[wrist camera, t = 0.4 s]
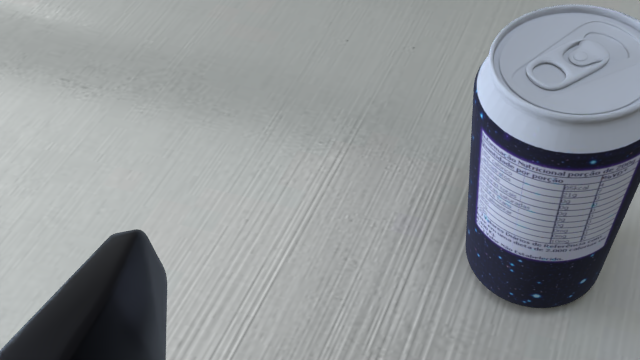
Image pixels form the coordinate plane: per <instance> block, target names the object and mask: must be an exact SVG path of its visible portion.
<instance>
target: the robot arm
mask: <svg viewBox="0 0 640 360" xmlns="http://www.w3.org/2000/svg"><path fill="white" fill-rule="evenodd" d="M166 315H167V277H166V273H165V270H164V267H163V265H162V263H161V261H160V260H159V258H158V256H157V254H156V252H155V250H154V248H153V246H152V244H151V243H150V241H149V239H148V237H147V236H146V234H145V233H144V232H143V231H141V230H138V229H136V230H131V231H125V232H120V233H116V234H113V235H111V236H110V237H109V238H108V239H107V240H106V241H105V242H104V243H103V244H102V245H101V246H100V247H99V248H98V249H97V250H96V251H95V252H94V253H93V254H92V255H91V257H90V258H89V259H88V260H87V261H86V262H85V263H84V264H83V265H82V266H81V267H80V268H79V269H78V270H77V271H76V272H75V273H74V274H73V275H72V276H71V277H70V278H69V279H68V280H67V281H66V283H65V284H64V285H63V286H62V287H61V288H60V289H59V290H58V291H57V292H56V293H55V294H54V295H53V296H52V297H51V298H50V299H49V300H48V301H47V302H46V303H45V304H44V305H43V306H42V307H41V309H40V310H39V311H38V312H37V313H36V314H35V315H34V316H33V317H32V318H31V319H30V320H29V321H28V322H27V323H26V324H25V325H24V326H23V327H22V328H21V329H20V330H19V331H18V332H17V333H16V335H15V336H14V337H13V338H12V339H11V340H10V341H9V342H8V343H7V344H6V345H5V346H4V347H3V348H2V349H1V350H0V360H166Z"/></svg>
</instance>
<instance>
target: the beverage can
mask: <svg viewBox="0 0 640 360" xmlns="http://www.w3.org/2000/svg"><path fill="white" fill-rule="evenodd" d="M639 183H640V21H638V20H637V19H635V18H633V17H631V16H629V15H626V14H624V13H621V12H618V11H615V10H612V9H608V8H603V7H599V6H591V5H573V4H572V5H558V6H552V7H546V8H542V9H538V10H535V11H532V12H530V13H527V14H525V15H523V16H521V17H519V18H517V19H515V20H514V21H512V22H511V23H509V24H508V25H507V26H505V27H504V28H503V29H502V30H501V31H500V32H499V34H498V35H497V37H496V38H495V39H494V41H493V43H492V46H491V48H490V52H489V56H488V57H487V58H486V59H485V61H484V62H483V64H482V65H481V67H480V69H479V70H478V73H477V75H476V78H475V83H474V95H473V115H472V134H471V153H470V173H469V192H468V211H467V231H466V253H467V258H468V261H469V264H470V266H471V268H472V270H473V272H474V273H475V275H476V276H477V278H478V279H479V280H480V281H481V282H482V283H483V284H484V285H485V286H486V287H487V288H488V289H489V290H490V291H492V292H493V293H495V294H496V295H498V296H499V297H501V298H503V299H505V300H507V301H510V302H512V303H515V304H518V305H522V306H527V307H535V308H549V307H556V306H560V305H564V304H567V303H570V302H572V301H574V300H576V299H578V298H579V297H581V296H582V295H584V294H585V293H586V292H587V291H588V290H589V289H590V288H591V287H592V286H593V284H594V283H595V281H596V280H597V278H598V275H599V273H600V271H601V269H602V266H603V264H604V262H605V260H606V257H607V255H608V253H609V251H610V248H611V246H612V244H613V242H614V239H615V237H616V235H617V233H618V230H619V228H620V226H621V223H622V221H623V219H624V217H625V214H626V212H627V210H628V208H629V205H630V203H631V201H632V199H633V196H634V194H635V192H636V190H637V187H638V185H639Z"/></svg>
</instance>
